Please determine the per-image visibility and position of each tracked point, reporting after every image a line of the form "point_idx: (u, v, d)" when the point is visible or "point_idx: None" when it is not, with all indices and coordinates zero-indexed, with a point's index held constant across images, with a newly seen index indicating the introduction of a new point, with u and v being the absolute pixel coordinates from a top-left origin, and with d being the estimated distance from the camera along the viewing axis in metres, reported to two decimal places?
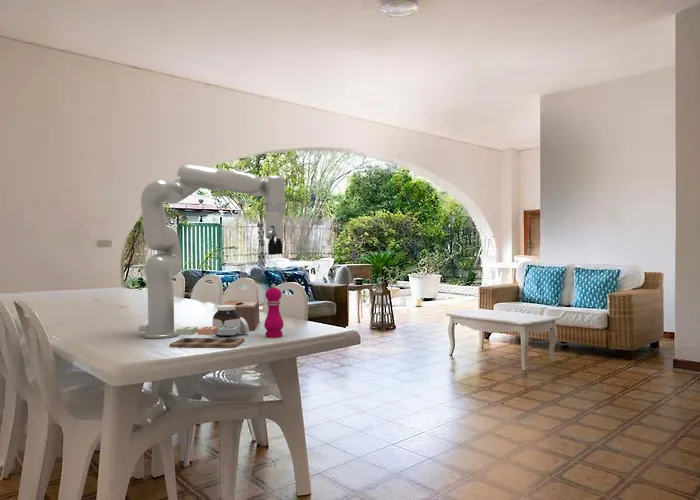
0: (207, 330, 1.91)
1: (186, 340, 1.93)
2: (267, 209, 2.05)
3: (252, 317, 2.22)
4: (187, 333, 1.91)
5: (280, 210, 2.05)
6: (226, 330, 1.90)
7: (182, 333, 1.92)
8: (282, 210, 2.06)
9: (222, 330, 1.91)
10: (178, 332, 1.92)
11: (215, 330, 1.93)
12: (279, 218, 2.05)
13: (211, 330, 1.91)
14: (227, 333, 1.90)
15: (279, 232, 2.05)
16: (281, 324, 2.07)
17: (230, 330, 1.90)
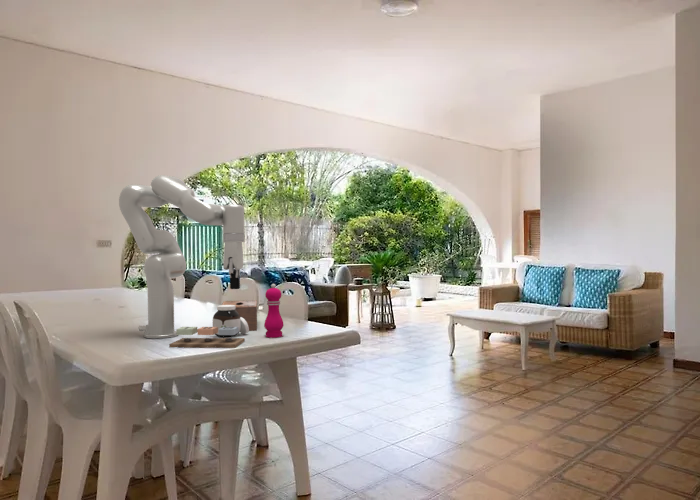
0: (207, 330, 1.91)
1: (186, 340, 1.93)
2: (225, 239, 1.98)
3: (255, 317, 2.22)
4: (187, 333, 1.91)
5: (239, 240, 1.98)
6: (226, 330, 1.90)
7: (182, 333, 1.92)
8: (241, 240, 1.98)
9: (222, 330, 1.91)
10: (178, 332, 1.92)
11: (215, 330, 1.93)
12: (238, 248, 1.98)
13: (211, 330, 1.91)
14: (227, 333, 1.90)
15: (238, 263, 1.98)
16: (281, 324, 2.07)
17: (230, 330, 1.90)
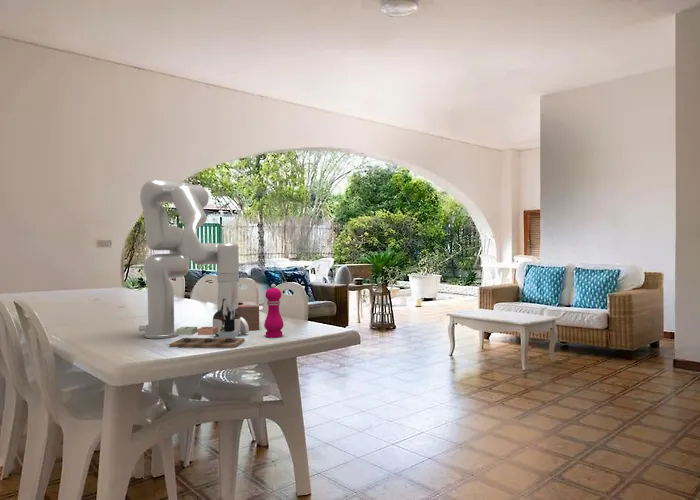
0: (207, 330, 1.91)
1: (186, 340, 1.93)
2: (219, 280, 1.90)
3: (257, 316, 2.23)
4: (187, 333, 1.91)
5: (234, 281, 1.90)
6: (226, 333, 1.90)
7: (182, 333, 1.92)
8: (236, 280, 1.91)
9: (222, 333, 1.91)
10: (178, 332, 1.92)
11: (215, 330, 1.93)
12: (232, 289, 1.90)
13: (211, 330, 1.91)
14: (227, 336, 1.90)
15: (232, 304, 1.90)
16: (281, 324, 2.07)
17: (230, 333, 1.90)
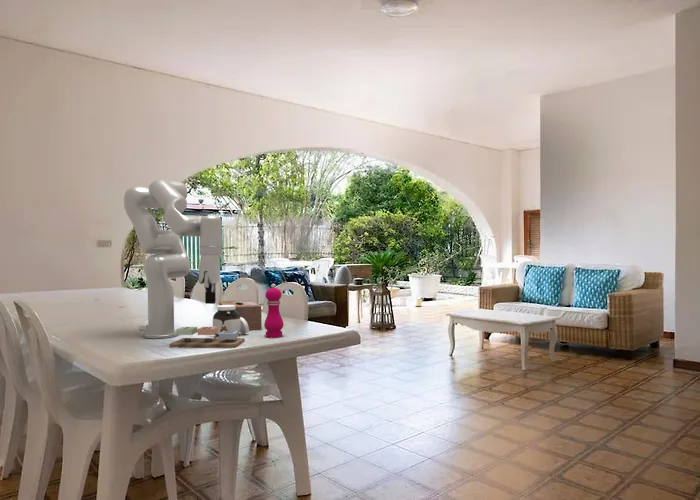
0: (207, 330, 1.91)
1: (186, 340, 1.93)
2: (201, 252, 1.90)
3: (259, 316, 2.24)
4: (187, 333, 1.91)
5: (216, 254, 1.91)
6: (226, 334, 1.90)
7: (182, 333, 1.92)
8: (218, 253, 1.91)
9: (222, 334, 1.91)
10: (178, 332, 1.92)
11: (215, 330, 1.93)
12: (214, 262, 1.90)
13: (211, 330, 1.91)
14: (227, 337, 1.90)
15: (214, 277, 1.91)
16: (281, 324, 2.07)
17: (230, 334, 1.90)
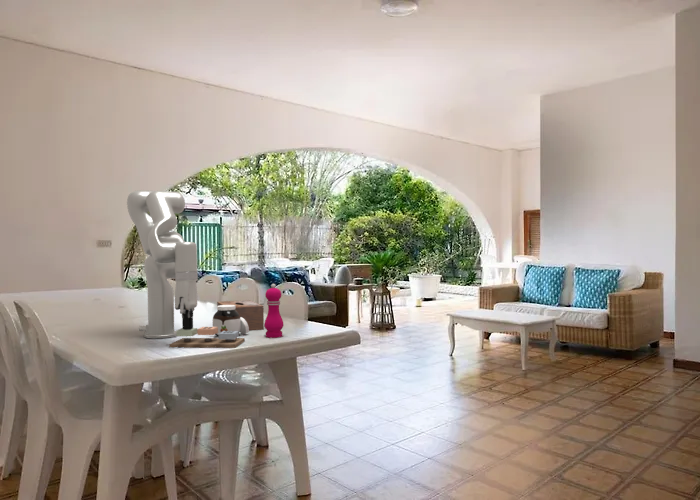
0: (207, 330, 1.91)
1: (186, 340, 1.93)
2: (177, 278, 1.91)
3: (262, 316, 2.25)
4: (187, 334, 1.91)
5: (191, 279, 1.91)
6: (226, 334, 1.90)
7: (182, 335, 1.92)
8: (193, 279, 1.92)
9: (222, 334, 1.91)
10: (178, 333, 1.92)
11: (215, 330, 1.93)
12: (190, 288, 1.91)
13: (211, 330, 1.91)
14: (227, 337, 1.90)
15: (190, 303, 1.91)
16: (281, 324, 2.07)
17: (230, 334, 1.90)
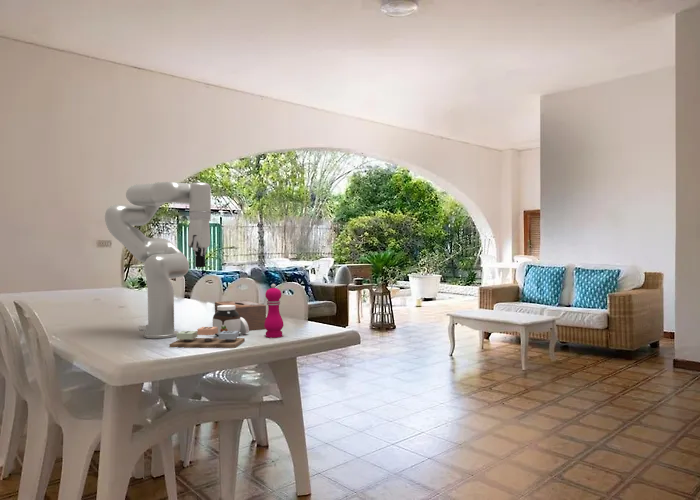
0: (207, 330, 1.91)
1: (186, 340, 1.93)
2: (191, 217, 1.98)
3: (264, 315, 2.26)
4: (187, 337, 1.92)
5: (204, 219, 1.98)
6: (226, 334, 1.90)
7: (182, 338, 1.92)
8: (206, 218, 1.98)
9: (222, 334, 1.91)
10: (178, 336, 1.92)
11: (215, 330, 1.93)
12: (203, 227, 1.98)
13: (211, 330, 1.91)
14: (227, 337, 1.90)
15: (203, 241, 1.98)
16: (281, 324, 2.07)
17: (230, 334, 1.90)
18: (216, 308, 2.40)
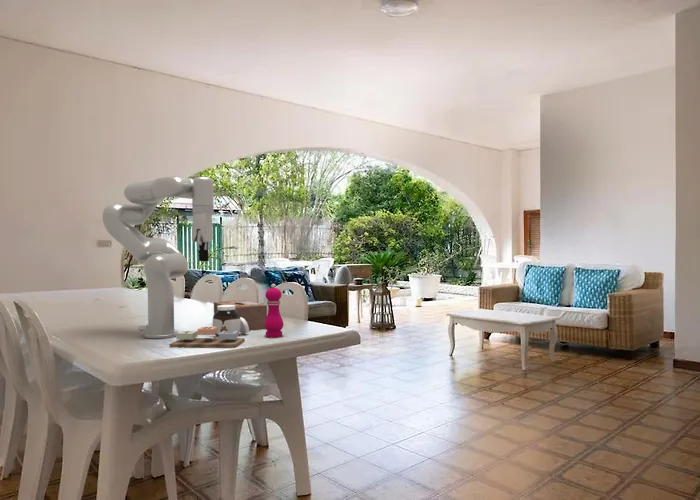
0: (207, 330, 1.91)
1: (186, 340, 1.93)
2: (194, 211, 1.99)
3: (265, 315, 2.26)
4: (187, 337, 1.92)
5: (208, 213, 1.99)
6: (226, 334, 1.90)
7: (182, 338, 1.92)
8: (210, 212, 2.00)
9: (222, 334, 1.91)
10: (178, 336, 1.92)
11: (215, 330, 1.93)
12: (206, 221, 1.99)
13: (211, 330, 1.91)
14: (227, 337, 1.90)
15: (206, 235, 1.99)
16: (281, 324, 2.07)
17: (230, 334, 1.90)
18: (215, 308, 2.39)
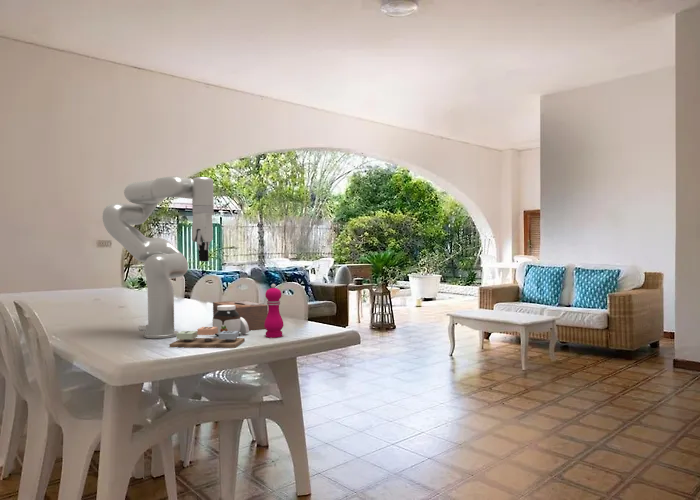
0: (207, 330, 1.91)
1: (186, 340, 1.93)
2: (194, 211, 1.99)
3: (266, 315, 2.27)
4: (187, 337, 1.92)
5: (208, 213, 1.99)
6: (226, 334, 1.90)
7: (182, 338, 1.92)
8: (210, 212, 2.00)
9: (222, 334, 1.91)
10: (178, 336, 1.92)
11: (215, 330, 1.93)
12: (206, 221, 1.99)
13: (211, 330, 1.91)
14: (227, 337, 1.90)
15: (206, 235, 1.99)
16: (281, 324, 2.07)
17: (230, 334, 1.90)
18: (215, 308, 2.39)
